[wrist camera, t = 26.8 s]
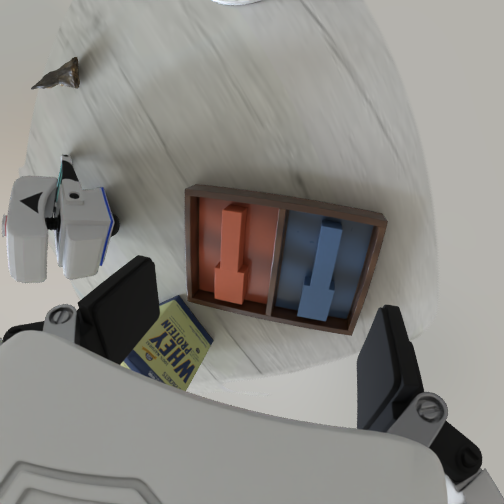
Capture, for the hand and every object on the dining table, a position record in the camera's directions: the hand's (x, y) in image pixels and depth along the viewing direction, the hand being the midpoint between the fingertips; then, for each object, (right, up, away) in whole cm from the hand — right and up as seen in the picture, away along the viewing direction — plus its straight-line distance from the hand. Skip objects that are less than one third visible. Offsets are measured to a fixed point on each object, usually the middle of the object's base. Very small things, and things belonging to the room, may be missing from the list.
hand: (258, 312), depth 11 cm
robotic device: (-27, +11, +31) cm, 42 cm away
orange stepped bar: (-3, +2, +26) cm, 27 cm away
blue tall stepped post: (+9, 0, +24) cm, 26 cm away
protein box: (-16, -12, +38) cm, 42 cm away
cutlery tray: (+3, +2, +26) cm, 26 cm away
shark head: (-31, +32, +22) cm, 50 cm away
